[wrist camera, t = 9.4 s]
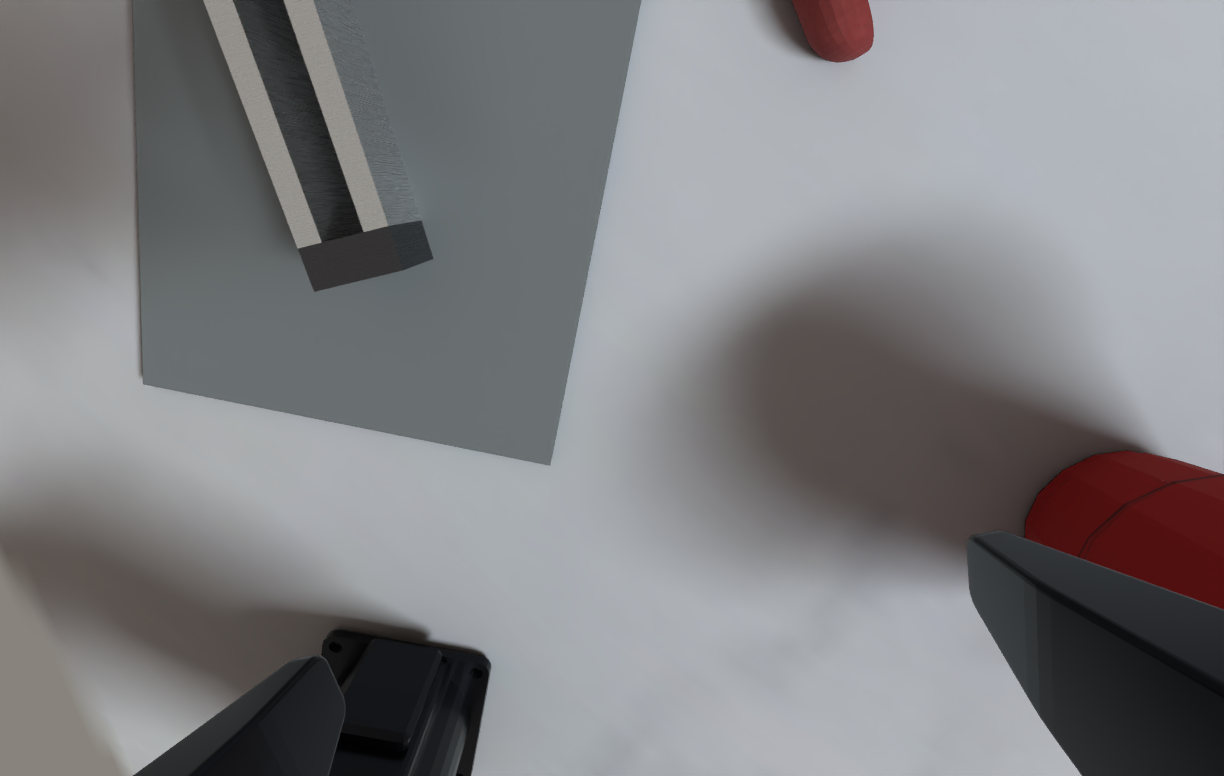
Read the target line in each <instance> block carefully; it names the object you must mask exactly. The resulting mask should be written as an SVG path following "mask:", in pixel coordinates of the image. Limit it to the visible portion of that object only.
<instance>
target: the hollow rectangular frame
mask: <svg viewBox="0 0 1224 776" xmlns="http://www.w3.org/2000/svg"><path fill="white" fill-rule="evenodd" d="M203 1H204V4H205V6H206V9H207V11H208V14H209V17H210V19H211V22H212V25H213V27H214V30H215V32H216V35H217V38H218V40H219V43H220V46H221V48H222V51H223V54H224V56H225V59H226V61H227V64H228V67H229V69H230V72H231V75H232V77H233V80H234V82H235V85H236V88H237V90H238V93H239V96H240V98H241V101H242V104H243V106H244V109H245V111H246V114H247V117H248V119H249V122H250V125H251V127H252V130H253V132H254V135H255V138H256V140H257V143H258V146H259V148H260V151H261V154H262V156H263V159H264V161H265V164H266V167H267V169H268V172H269V175H270V177H271V180H272V182H273V185H274V188H275V190H276V193H277V196H278V198H279V201H280V204H281V206H282V209H283V211H284V214H285V217H286V219H287V222H288V225H289V227H290V230H291V232H292V235H293V238H294V240H295V243H296V246H297V248H298V251H299V254H300V256H301V259H302V261H303V264H304V267H305V269H306V272H307V275H308V277H309V280H310V282H311V285H312V288H313V290H314V292H316V291H320V290H324V289H328V288H333V287H337V286H341V285H345V284H349V283H353V282H357V281H362V280H366V279H370V278H374V277H378V276H382V275H386V274H390V273H395V272H399V271H403V270H406V269H408V268H411V267H413V266H416V265H419V264H421V263H424V262H427V261H429V260H432V259H434V258H433V255H432V252H431V249H430V246H429V243H428V239H427V236H426V233H425V230H424V227H423V224H422V221H421V217H420V214H419V211H418V208H417V205H416V202H415V198H414V195H413V192H412V189H411V186H410V183H409V179H408V176H407V173H406V170H405V167H404V164H403V161H402V157H401V154H400V151H399V148H398V145H397V142H396V138H395V135H394V132H393V129H392V126H391V123H390V120H389V116H388V113H387V110H386V107H385V104H384V101H383V97H382V94H381V91H380V88H379V85H378V82H377V78H376V75H375V72H374V69H373V66H372V63H371V60H370V56H369V53H368V50H367V47H366V44H365V41H364V37H363V34H362V31H361V28H360V25H359V22H358V18H357V15H356V12H355V9H354V6H353V3H352V0H284V3H285V6H286V9H287V12H288V15H289V18H290V20H291V23H292V26H293V29H294V32H295V35H296V38H297V41H298V44H299V46H300V49H301V52H302V55H303V58H304V61H305V64H306V67H307V70H308V72H309V75H310V78H311V81H312V84H313V87H314V90H315V93H316V96H317V98H318V101H319V104H320V107H321V110H322V113H323V116H324V119H325V122H326V124H327V127H328V130H329V133H330V136H331V139H332V142H333V145H334V148H335V150H334V148H333V145H332V142H331V139H330V136H329V133H328V130H327V127H326V124H325V122H324V119H323V116H322V113H321V110H320V107H319V104H318V101H317V98H316V96H315V93H314V90H313V87H312V84H311V81H310V78H309V75H308V72H307V70H306V67H305V64H304V61H303V58H302V55H301V52H300V49H299V46H298V44H297V41H296V38H295V35H294V32H293V29H292V26H291V23H290V21H289V18H288V15H287V12H286V9H285V6H284V3H283V0H203ZM335 151H336V153H337V156H338V159H339V162H340V165H341V168H342V171H343V174H344V176H343V174H342V171H341V168H340V165H339V162H338V159H337V156H336V153H335ZM344 177H345V179H346V182H347V185H348V188H349V191H350V194H351V197H352V200H353V202H352V200H351V197H350V194H349V191H348V188H347V185H346V182H345V179H344ZM353 203H354V205H355V208H356V211H357V214H358V217H359V220H360V223H361V226H362V228H361V226H360V223H359V220H358V217H357V214H356V211H355V208H354V205H353ZM362 229H363V231H364V232H363V231H362Z"/></svg>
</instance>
